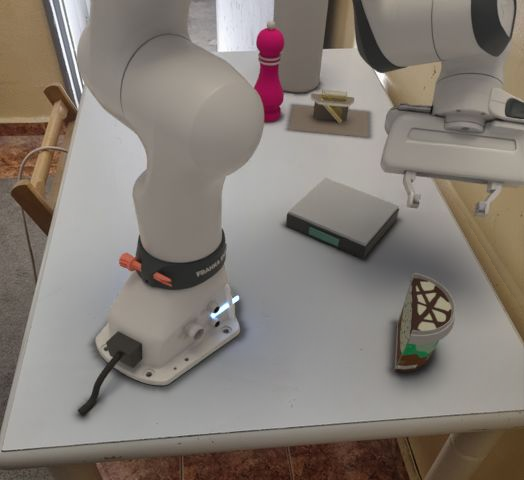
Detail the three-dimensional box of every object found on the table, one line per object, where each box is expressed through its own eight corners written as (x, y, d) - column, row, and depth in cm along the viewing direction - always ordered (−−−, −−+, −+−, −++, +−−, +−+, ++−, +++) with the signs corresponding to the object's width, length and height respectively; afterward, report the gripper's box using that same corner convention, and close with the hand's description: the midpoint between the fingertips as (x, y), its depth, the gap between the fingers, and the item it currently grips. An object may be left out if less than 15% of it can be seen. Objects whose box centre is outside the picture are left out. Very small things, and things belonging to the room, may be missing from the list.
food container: (437, 387, 73) (461, 341, 66) (394, 379, 74) (412, 333, 66) (436, 324, 81) (457, 277, 73) (397, 317, 82) (413, 270, 74)
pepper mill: (259, 125, 119) (262, 28, 104) (247, 111, 123) (248, 16, 108) (287, 120, 121) (294, 24, 106) (274, 106, 125) (279, 12, 110)
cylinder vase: (267, 72, 137) (272, -42, 118) (314, 72, 138) (326, -42, 119) (273, 94, 129) (279, -25, 110) (322, 93, 130) (337, -25, 111)
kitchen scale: (362, 260, 90) (365, 245, 88) (285, 226, 96) (286, 212, 93) (396, 220, 98) (400, 205, 96) (323, 190, 103) (325, 176, 101)
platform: (367, 137, 117) (373, 108, 112) (289, 129, 118) (291, 100, 113) (367, 112, 125) (373, 84, 120) (293, 105, 126) (296, 77, 121)
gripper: (391, 92, 69) (374, 197, 70) (550, 109, 67) (529, 217, 68) (385, 109, 75) (369, 206, 76) (530, 126, 73) (511, 224, 75)
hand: (446, 211), depth 72 cm, fingers open, 8 cm apart
